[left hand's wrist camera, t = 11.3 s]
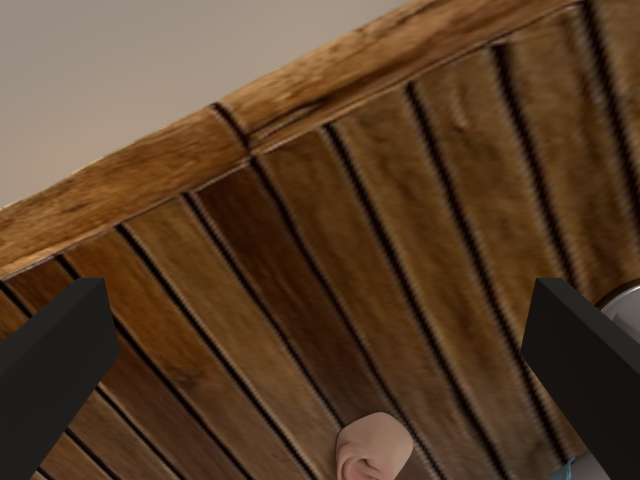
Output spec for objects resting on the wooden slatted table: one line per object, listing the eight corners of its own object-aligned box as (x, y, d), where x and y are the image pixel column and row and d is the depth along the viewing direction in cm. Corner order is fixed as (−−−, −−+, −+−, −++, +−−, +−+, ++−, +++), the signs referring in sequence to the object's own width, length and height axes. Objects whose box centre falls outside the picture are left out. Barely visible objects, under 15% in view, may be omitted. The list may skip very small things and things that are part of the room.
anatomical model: (369, 425, 51) (441, 462, 54) (365, 401, 55) (433, 437, 57) (311, 489, 55) (381, 520, 58) (311, 463, 59) (377, 493, 61)
